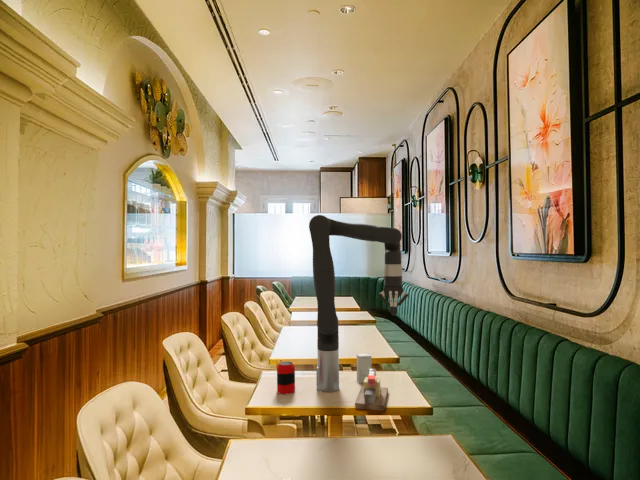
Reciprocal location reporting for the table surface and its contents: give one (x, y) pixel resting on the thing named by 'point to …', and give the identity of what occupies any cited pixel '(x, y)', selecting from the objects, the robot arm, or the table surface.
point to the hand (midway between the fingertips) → (393, 315)
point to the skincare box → (363, 366)
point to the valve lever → (371, 376)
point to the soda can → (285, 377)
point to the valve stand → (372, 396)
